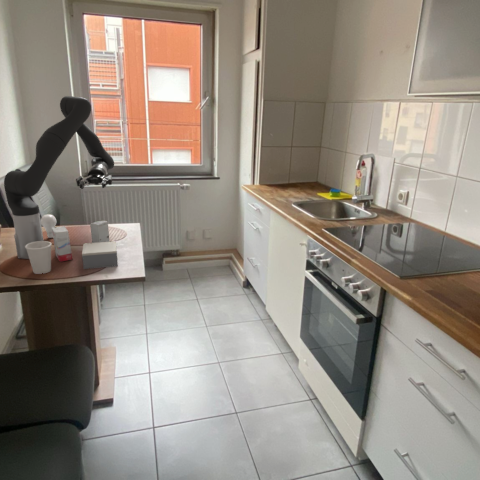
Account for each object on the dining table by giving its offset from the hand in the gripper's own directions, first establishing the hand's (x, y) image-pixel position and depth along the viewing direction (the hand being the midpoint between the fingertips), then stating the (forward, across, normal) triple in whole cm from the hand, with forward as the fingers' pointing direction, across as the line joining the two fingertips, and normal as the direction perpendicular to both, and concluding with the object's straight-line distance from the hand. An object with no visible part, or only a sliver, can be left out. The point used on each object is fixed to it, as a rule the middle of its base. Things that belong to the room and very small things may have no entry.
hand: (92, 186), depth 159 cm
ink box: (+21, -11, +22) cm, 32 cm away
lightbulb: (-5, -23, +26) cm, 35 cm away
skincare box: (+13, +2, +24) cm, 27 cm away
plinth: (+27, +4, +21) cm, 34 cm away
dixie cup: (+33, -15, +19) cm, 41 cm away
